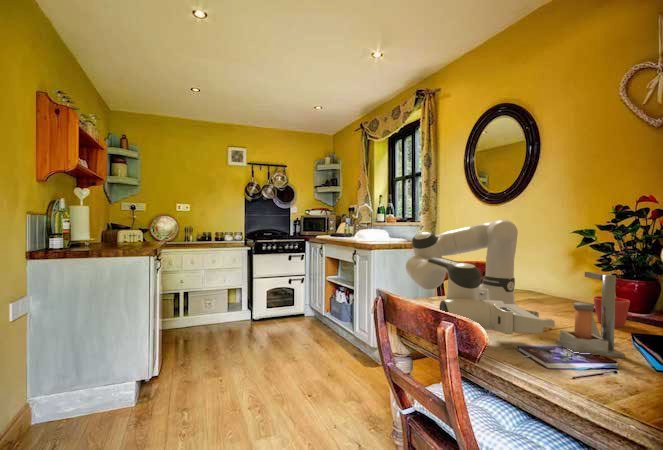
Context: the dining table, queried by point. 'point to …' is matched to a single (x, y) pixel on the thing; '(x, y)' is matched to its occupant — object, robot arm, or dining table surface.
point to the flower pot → (620, 310)
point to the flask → (594, 327)
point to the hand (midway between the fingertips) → (545, 318)
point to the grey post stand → (606, 342)
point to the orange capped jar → (583, 320)
